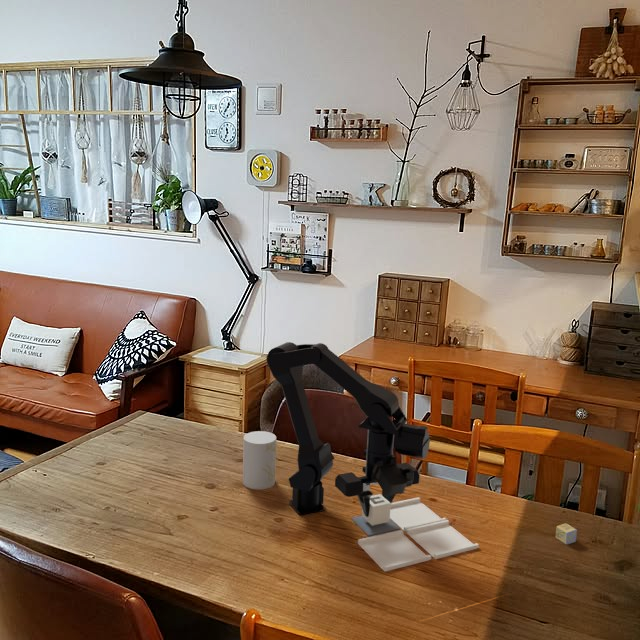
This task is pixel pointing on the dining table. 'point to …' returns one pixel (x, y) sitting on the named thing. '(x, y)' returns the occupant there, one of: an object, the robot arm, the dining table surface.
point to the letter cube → (378, 510)
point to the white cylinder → (259, 460)
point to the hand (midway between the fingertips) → (375, 514)
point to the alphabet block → (566, 533)
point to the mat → (374, 526)
